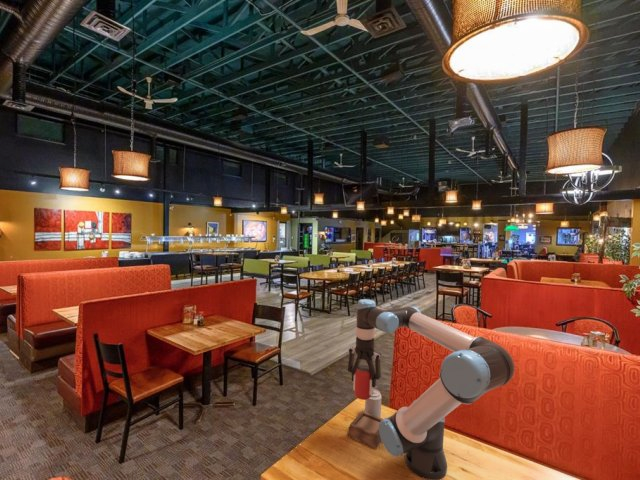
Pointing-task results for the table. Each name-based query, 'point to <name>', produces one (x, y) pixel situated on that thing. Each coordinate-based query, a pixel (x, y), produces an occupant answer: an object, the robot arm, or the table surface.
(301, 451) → the table surface
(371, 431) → the walnut tray
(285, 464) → the table surface
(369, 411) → the can
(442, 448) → the robot arm
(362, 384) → the beer can
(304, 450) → the table surface
